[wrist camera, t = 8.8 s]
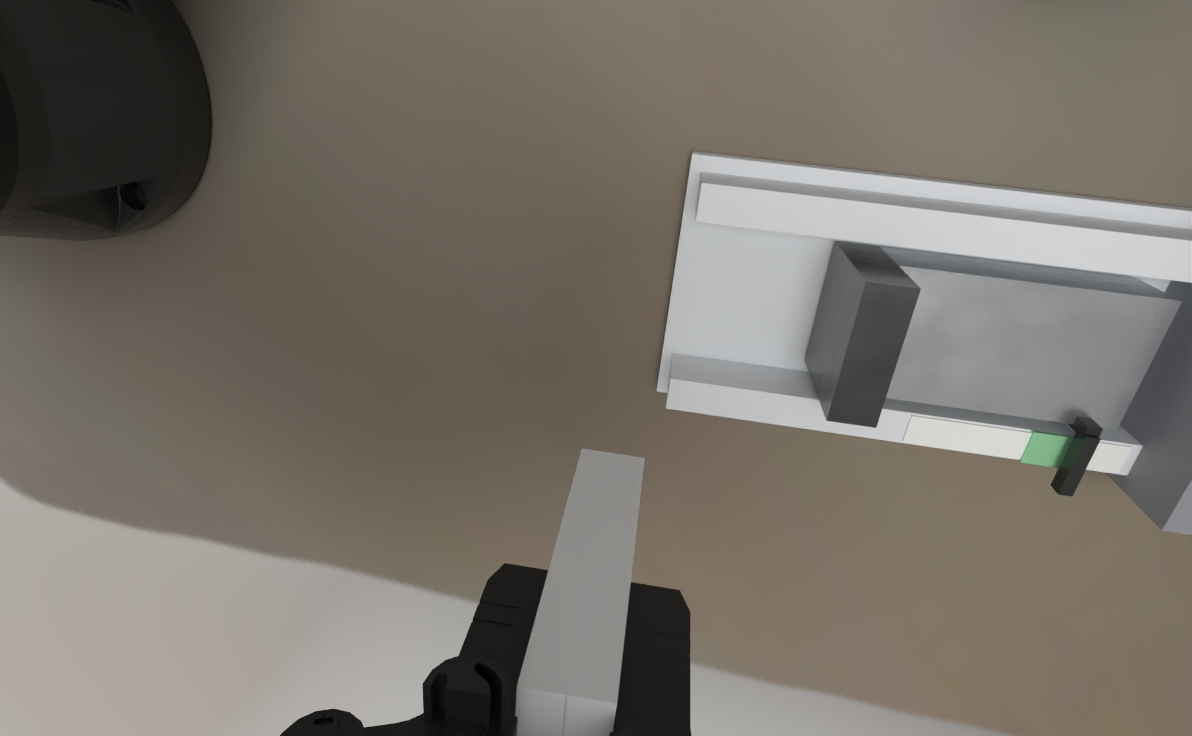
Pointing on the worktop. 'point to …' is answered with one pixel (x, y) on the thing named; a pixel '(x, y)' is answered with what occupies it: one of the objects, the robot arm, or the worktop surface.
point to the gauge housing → (926, 224)
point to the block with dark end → (984, 341)
